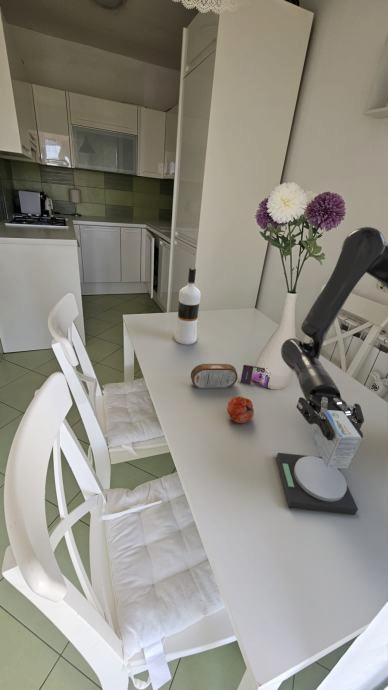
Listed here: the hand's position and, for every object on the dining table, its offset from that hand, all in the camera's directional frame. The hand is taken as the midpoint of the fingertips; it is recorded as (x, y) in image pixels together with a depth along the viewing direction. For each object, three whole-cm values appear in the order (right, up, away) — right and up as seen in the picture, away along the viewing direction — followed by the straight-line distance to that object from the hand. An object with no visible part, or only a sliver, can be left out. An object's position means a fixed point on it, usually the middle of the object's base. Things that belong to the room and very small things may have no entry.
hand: (345, 438), depth 59 cm
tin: (-23, +4, +40) cm, 46 cm away
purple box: (-9, +5, +45) cm, 46 cm away
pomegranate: (-17, -3, +28) cm, 32 cm away
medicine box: (-1, -5, +6) cm, 8 cm away
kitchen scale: (-3, -14, +10) cm, 17 cm away
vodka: (-33, +20, +67) cm, 77 cm away
